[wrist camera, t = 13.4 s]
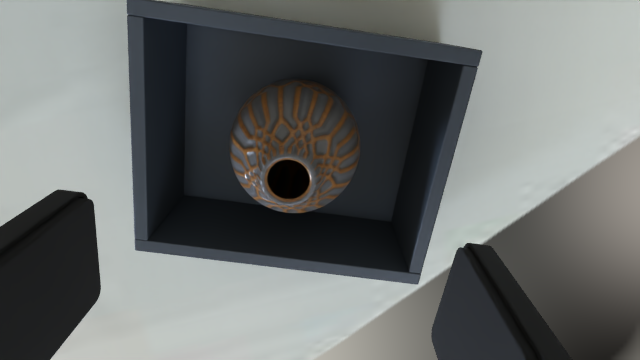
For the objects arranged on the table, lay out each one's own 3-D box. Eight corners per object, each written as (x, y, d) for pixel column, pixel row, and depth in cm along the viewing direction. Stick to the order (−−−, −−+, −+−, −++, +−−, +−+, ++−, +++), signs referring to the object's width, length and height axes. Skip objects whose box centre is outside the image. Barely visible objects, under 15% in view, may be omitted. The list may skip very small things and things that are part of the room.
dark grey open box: (178, 3, 23) (126, -4, 17) (441, 43, 24) (483, 50, 18) (176, 199, 27) (134, 250, 21) (397, 227, 28) (418, 284, 22)
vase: (343, 60, 23) (355, 81, 15) (362, 169, 26) (381, 237, 18) (230, 84, 24) (183, 117, 16) (259, 188, 26) (231, 263, 18)
